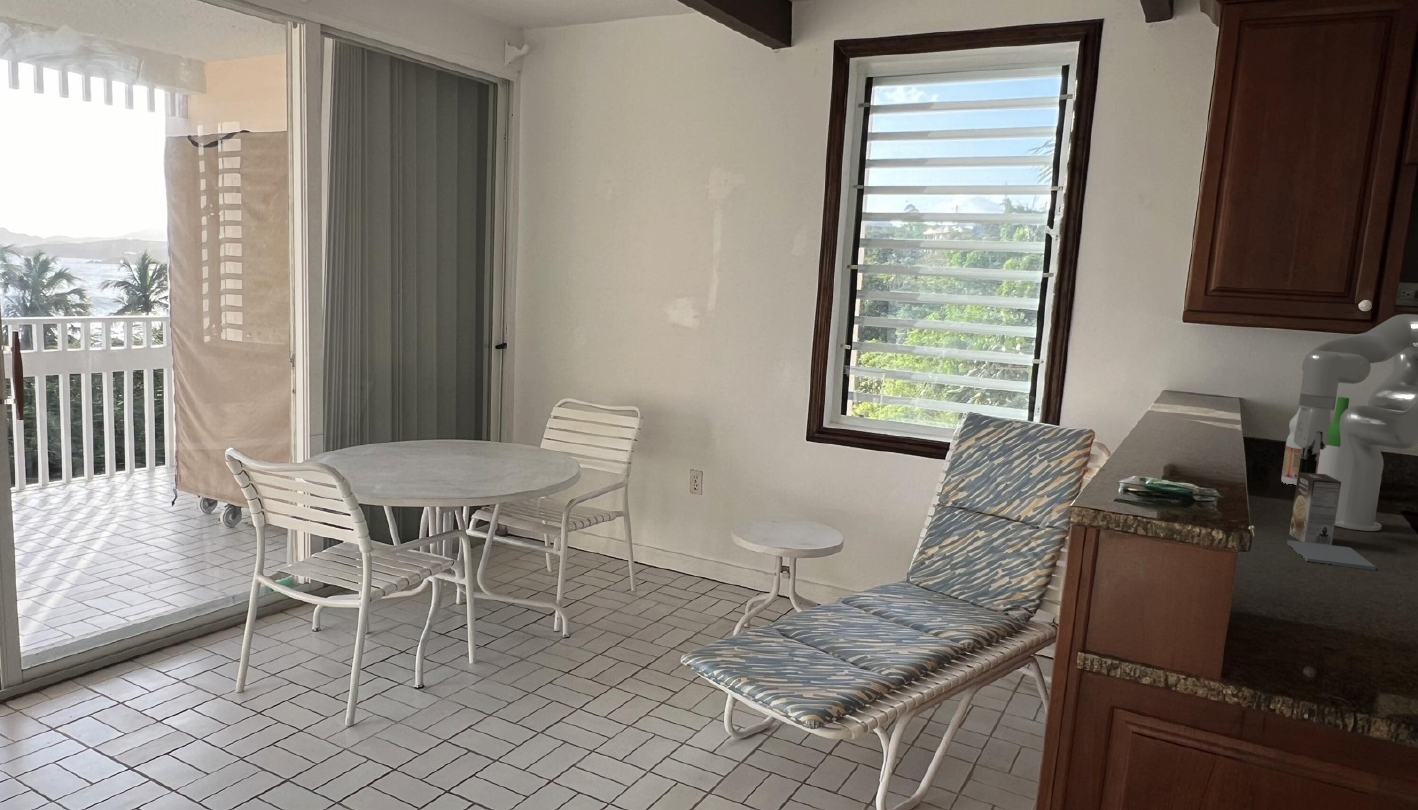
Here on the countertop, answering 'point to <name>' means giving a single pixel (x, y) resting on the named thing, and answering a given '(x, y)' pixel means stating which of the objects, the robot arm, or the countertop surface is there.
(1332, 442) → the wine bottle
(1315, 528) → the coffee box
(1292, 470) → the fruit juice
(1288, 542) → the rubber mat
